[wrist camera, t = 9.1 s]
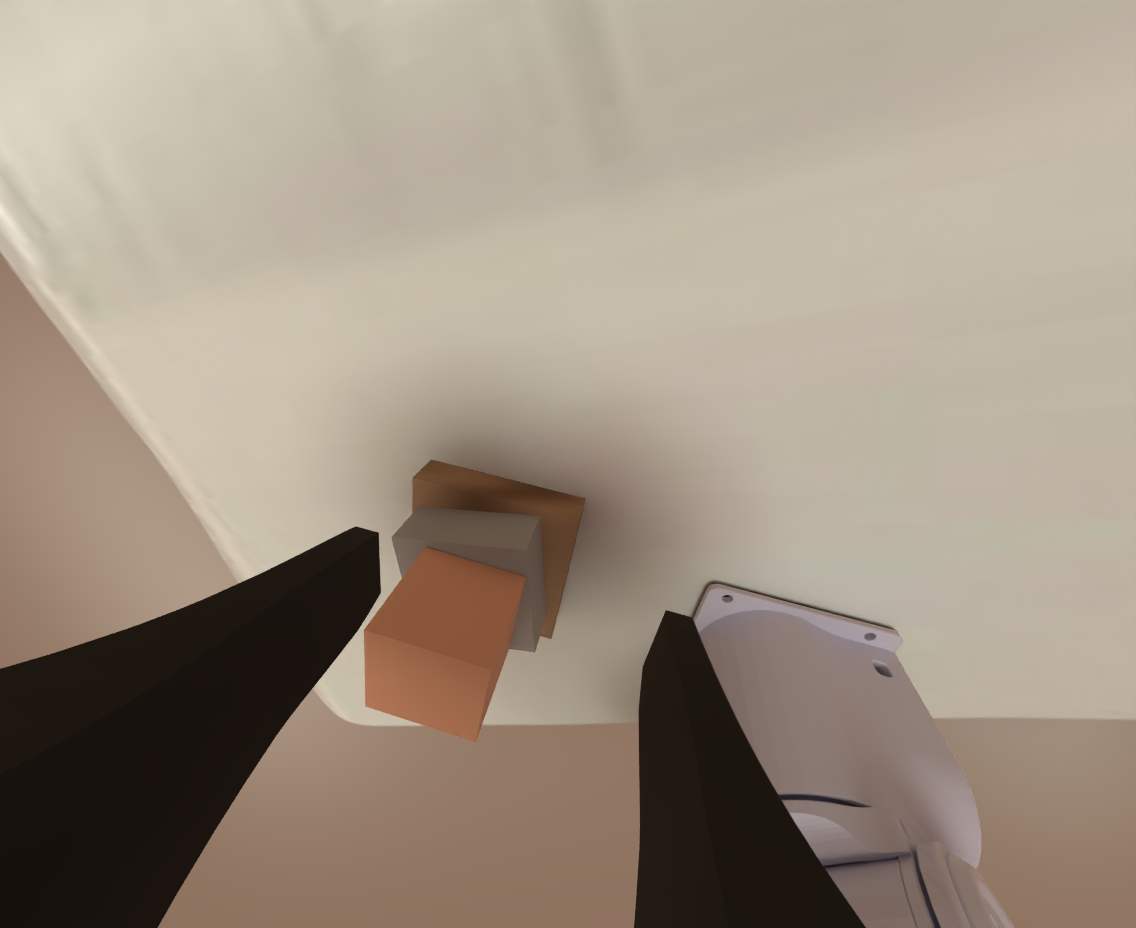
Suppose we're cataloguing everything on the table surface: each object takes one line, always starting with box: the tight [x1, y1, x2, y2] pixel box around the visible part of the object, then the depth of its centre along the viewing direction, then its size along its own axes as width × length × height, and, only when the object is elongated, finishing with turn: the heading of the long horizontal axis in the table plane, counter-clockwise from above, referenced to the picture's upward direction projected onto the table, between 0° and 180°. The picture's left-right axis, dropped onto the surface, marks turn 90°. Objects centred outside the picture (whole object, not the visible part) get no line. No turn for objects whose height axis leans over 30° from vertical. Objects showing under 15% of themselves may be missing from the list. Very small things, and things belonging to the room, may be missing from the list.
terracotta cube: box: [364, 547, 526, 742], centre depth 18 cm, size 4×4×4 cm
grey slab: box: [392, 506, 547, 652], centre depth 21 cm, size 6×6×2 cm
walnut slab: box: [413, 460, 585, 639], centre depth 23 cm, size 8×8×2 cm
